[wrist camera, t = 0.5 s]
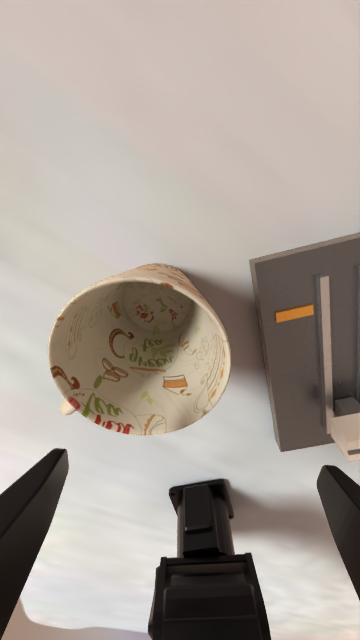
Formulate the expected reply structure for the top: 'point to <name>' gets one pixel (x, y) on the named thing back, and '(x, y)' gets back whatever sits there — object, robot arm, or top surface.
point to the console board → (309, 335)
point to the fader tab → (347, 427)
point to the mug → (140, 352)
